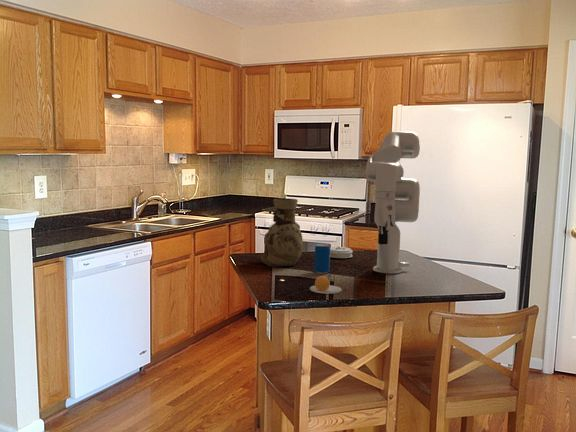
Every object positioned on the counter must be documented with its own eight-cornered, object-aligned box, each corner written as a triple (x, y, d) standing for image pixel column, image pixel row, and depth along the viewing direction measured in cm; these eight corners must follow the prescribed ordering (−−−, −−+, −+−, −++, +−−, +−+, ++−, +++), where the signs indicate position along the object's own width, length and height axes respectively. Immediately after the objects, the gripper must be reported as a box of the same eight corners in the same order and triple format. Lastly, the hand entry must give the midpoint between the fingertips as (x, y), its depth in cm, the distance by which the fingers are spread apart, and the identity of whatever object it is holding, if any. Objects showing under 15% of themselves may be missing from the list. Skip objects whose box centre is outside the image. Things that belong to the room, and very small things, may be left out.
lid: (339, 253, 264) (339, 244, 264) (357, 258, 255) (358, 248, 254) (321, 256, 256) (321, 246, 256) (340, 261, 247) (340, 250, 246)
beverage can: (328, 274, 217) (329, 246, 216) (313, 273, 218) (314, 245, 217) (330, 271, 223) (331, 244, 222) (315, 270, 225) (316, 243, 223)
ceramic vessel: (255, 268, 226) (256, 200, 222) (264, 258, 246) (266, 196, 243) (298, 270, 223) (300, 202, 219) (304, 261, 244) (306, 197, 240)
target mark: (336, 284, 200) (336, 284, 200) (345, 293, 189) (345, 292, 189) (306, 285, 198) (306, 285, 198) (314, 294, 186) (314, 293, 186)
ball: (312, 275, 192) (312, 289, 193) (318, 278, 187) (318, 293, 188) (325, 273, 194) (326, 287, 195) (331, 277, 189) (332, 291, 190)
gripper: (402, 197, 187) (400, 247, 189) (386, 194, 202) (384, 240, 204) (383, 197, 186) (380, 247, 188) (368, 194, 200) (366, 240, 202)
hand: (382, 243), depth 196 cm, fingers closed
